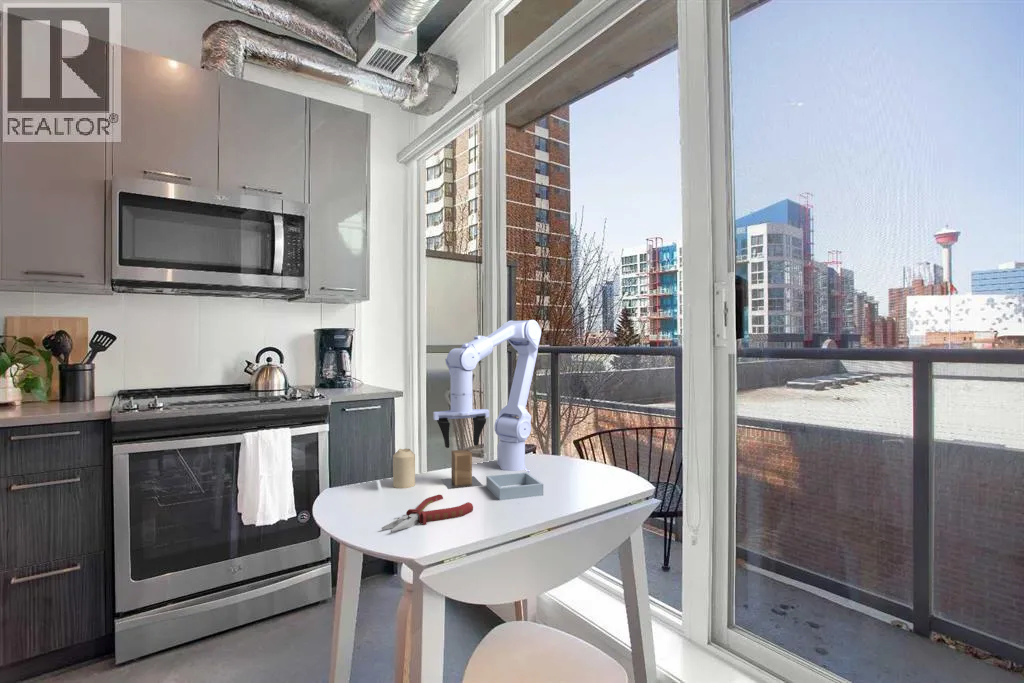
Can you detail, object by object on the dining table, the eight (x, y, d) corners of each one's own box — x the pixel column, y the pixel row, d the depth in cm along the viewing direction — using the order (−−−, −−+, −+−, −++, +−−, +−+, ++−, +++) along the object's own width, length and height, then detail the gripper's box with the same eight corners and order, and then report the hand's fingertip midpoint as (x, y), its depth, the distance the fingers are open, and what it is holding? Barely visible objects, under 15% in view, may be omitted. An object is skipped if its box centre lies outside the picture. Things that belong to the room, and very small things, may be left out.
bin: (486, 489, 126) (486, 476, 126) (526, 485, 129) (526, 472, 129) (499, 503, 115) (499, 488, 115) (543, 498, 119) (543, 484, 119)
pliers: (368, 529, 101) (368, 516, 101) (438, 503, 117) (438, 492, 117) (405, 543, 94) (405, 529, 94) (475, 513, 110) (475, 501, 110)
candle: (402, 492, 123) (402, 452, 123) (388, 488, 127) (388, 449, 127) (419, 487, 128) (419, 448, 128) (405, 483, 131) (405, 446, 131)
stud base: (441, 482, 132) (441, 469, 132) (473, 479, 135) (473, 467, 135) (448, 492, 124) (448, 478, 124) (482, 488, 127) (482, 475, 127)
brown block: (451, 480, 131) (451, 450, 131) (467, 479, 132) (467, 449, 132) (455, 485, 127) (455, 454, 127) (471, 483, 128) (471, 452, 128)
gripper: (436, 396, 123) (436, 451, 123) (492, 394, 128) (492, 447, 128) (431, 393, 130) (431, 445, 130) (484, 391, 135) (484, 441, 135)
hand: (461, 446), depth 130 cm, fingers open, 7 cm apart
